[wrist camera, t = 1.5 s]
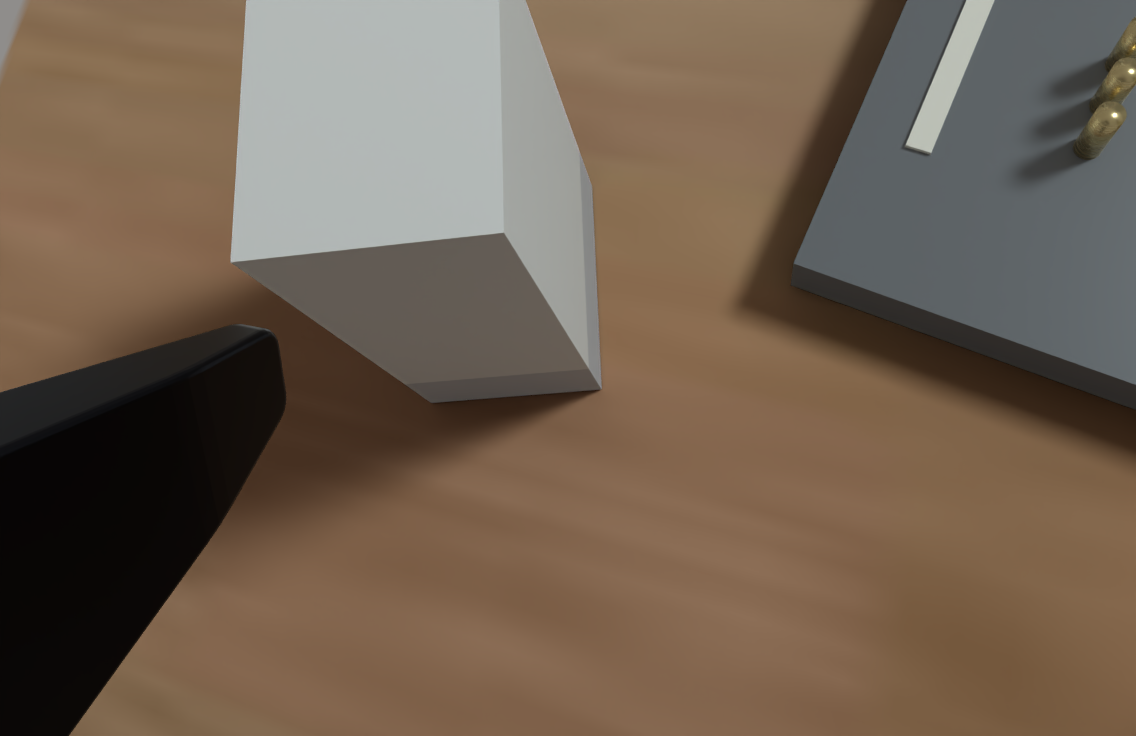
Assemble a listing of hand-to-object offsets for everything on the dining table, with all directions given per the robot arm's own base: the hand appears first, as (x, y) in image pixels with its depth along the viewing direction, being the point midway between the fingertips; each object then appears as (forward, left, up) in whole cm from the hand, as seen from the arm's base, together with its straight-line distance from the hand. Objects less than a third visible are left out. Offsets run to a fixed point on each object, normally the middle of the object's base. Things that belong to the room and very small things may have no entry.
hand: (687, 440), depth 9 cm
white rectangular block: (+4, +7, -14) cm, 16 cm away
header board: (+12, -5, -14) cm, 19 cm away
